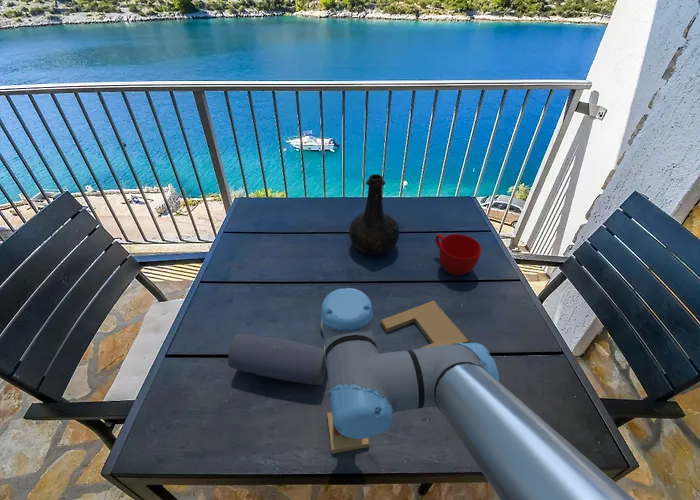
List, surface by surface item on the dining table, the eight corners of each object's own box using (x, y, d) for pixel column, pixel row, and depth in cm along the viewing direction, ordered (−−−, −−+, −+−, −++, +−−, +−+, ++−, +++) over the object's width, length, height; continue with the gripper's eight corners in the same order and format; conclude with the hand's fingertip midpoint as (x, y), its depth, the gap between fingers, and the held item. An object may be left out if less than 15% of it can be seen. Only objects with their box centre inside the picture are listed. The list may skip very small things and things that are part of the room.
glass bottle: (392, 266, 120) (400, 194, 102) (342, 256, 123) (341, 186, 106) (401, 236, 133) (409, 168, 115) (356, 228, 137) (357, 162, 119)
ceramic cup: (446, 246, 128) (451, 224, 122) (483, 272, 117) (490, 249, 111) (420, 259, 122) (423, 236, 116) (455, 287, 111) (462, 264, 105)
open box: (369, 447, 74) (370, 428, 69) (331, 453, 73) (330, 435, 68) (361, 410, 80) (362, 390, 75) (327, 416, 79) (325, 396, 74)
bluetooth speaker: (329, 362, 90) (328, 339, 84) (320, 396, 83) (317, 373, 77) (248, 347, 94) (240, 323, 87) (232, 378, 87) (223, 354, 80)
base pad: (467, 344, 95) (468, 340, 93) (410, 369, 89) (411, 365, 88) (432, 304, 106) (433, 300, 105) (380, 324, 100) (381, 319, 99)
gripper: (378, 403, 54) (372, 462, 69) (359, 323, 67) (357, 387, 82) (331, 411, 54) (335, 469, 68) (320, 328, 66) (325, 393, 81)
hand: (347, 424), depth 75 cm, fingers open, 3 cm apart
